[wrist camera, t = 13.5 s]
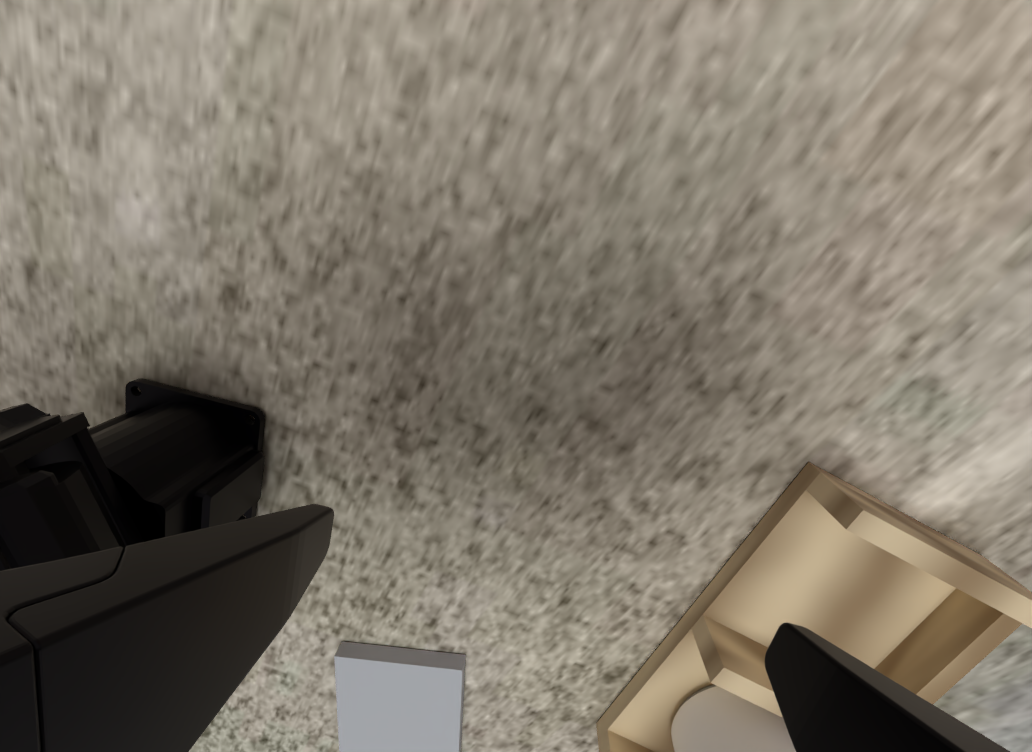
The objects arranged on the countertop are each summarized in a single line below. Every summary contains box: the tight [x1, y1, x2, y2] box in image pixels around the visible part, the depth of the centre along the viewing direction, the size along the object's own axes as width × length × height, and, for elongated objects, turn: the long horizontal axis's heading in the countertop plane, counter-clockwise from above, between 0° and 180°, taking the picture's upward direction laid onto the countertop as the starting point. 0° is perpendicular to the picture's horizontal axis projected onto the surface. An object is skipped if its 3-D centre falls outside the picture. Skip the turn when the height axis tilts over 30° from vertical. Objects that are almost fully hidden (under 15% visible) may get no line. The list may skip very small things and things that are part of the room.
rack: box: [596, 462, 1032, 752], centre depth 23 cm, size 10×19×4 cm, turn 152°
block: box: [334, 641, 466, 752], centre depth 28 cm, size 7×10×1 cm
